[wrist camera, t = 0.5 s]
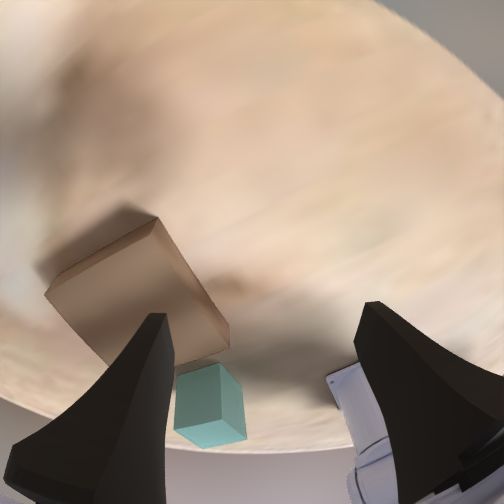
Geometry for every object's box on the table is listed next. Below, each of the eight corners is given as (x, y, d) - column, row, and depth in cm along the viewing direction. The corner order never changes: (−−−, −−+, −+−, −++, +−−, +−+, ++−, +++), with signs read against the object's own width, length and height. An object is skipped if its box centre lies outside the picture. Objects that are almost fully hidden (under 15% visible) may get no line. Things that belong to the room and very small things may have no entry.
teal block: (241, 387, 27) (247, 439, 22) (202, 398, 28) (202, 448, 22) (220, 362, 25) (222, 419, 20) (177, 375, 26) (173, 429, 20)
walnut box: (228, 321, 23) (229, 348, 21) (131, 355, 24) (125, 380, 22) (159, 214, 19) (150, 234, 16) (59, 272, 20) (43, 294, 17)
